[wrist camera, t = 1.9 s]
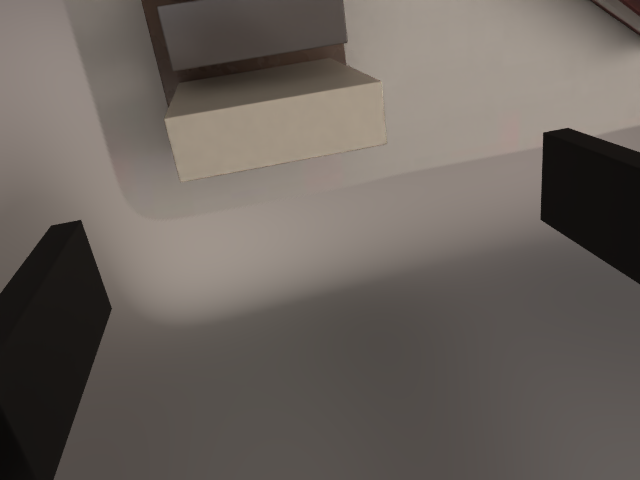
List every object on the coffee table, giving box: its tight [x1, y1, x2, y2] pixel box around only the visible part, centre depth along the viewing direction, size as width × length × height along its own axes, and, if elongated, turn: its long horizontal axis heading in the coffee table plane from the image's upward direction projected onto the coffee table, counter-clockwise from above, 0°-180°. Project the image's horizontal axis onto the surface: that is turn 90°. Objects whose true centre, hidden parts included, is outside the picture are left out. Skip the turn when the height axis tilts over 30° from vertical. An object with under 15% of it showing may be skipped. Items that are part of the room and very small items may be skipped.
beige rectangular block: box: [164, 58, 387, 182], centre depth 30 cm, size 3×10×12 cm, turn 98°
